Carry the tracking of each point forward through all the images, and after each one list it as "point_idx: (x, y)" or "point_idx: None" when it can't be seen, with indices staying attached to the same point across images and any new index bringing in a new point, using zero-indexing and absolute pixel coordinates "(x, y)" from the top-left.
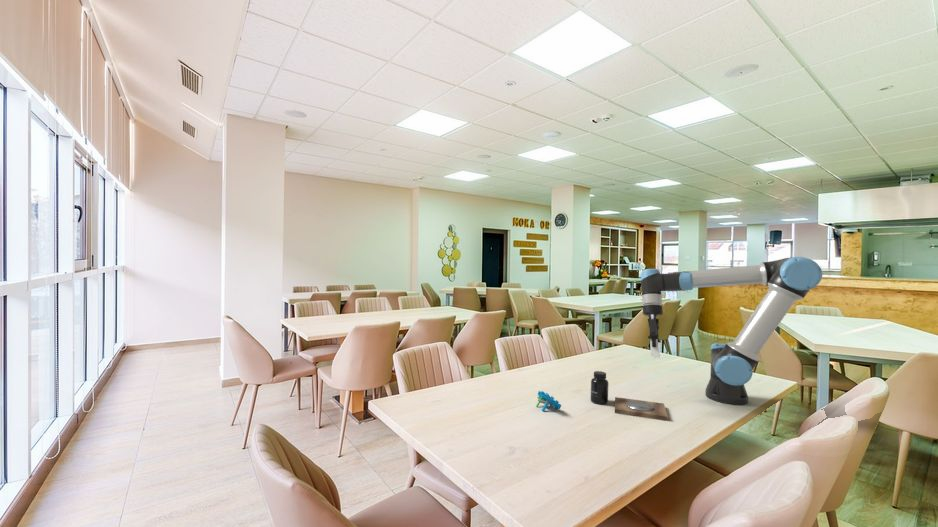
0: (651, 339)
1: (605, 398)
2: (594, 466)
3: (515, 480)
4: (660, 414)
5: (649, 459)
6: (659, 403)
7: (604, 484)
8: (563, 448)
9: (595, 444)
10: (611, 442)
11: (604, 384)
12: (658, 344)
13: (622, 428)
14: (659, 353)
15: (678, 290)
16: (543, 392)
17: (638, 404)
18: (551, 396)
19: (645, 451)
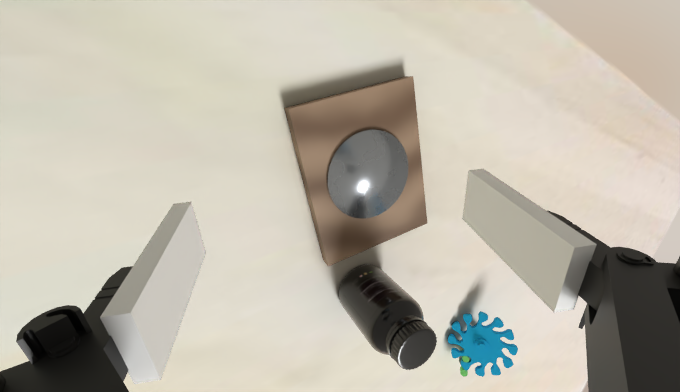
0: (573, 294)
1: (383, 273)
2: (619, 158)
3: (650, 219)
4: (406, 101)
5: (591, 86)
6: (299, 123)
7: (650, 130)
8: (586, 218)
9: (566, 185)
10: (554, 165)
11: (415, 301)
12: (145, 299)
13: (495, 169)
14: (180, 228)
15: None
16: (510, 360)
17: (363, 181)
18: (513, 338)
19: (569, 99)
